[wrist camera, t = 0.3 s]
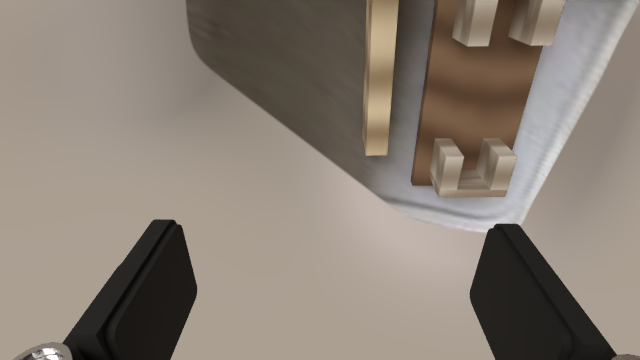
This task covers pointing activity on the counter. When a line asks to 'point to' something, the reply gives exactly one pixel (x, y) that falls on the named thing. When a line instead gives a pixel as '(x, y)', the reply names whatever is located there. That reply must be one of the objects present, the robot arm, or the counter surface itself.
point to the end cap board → (478, 91)
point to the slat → (378, 73)
